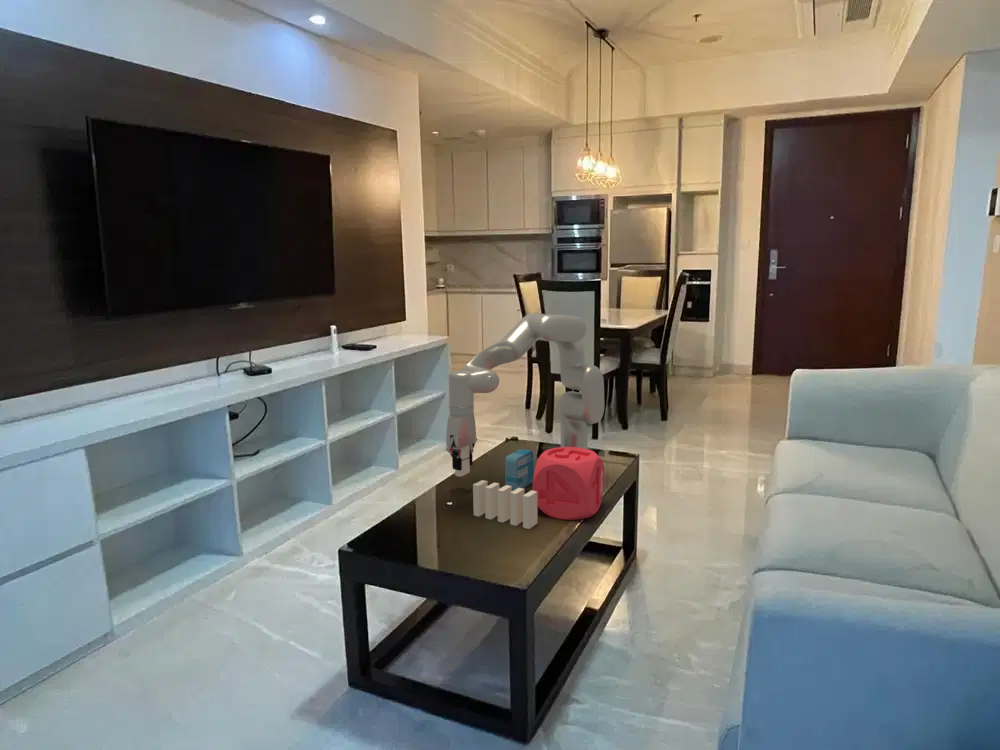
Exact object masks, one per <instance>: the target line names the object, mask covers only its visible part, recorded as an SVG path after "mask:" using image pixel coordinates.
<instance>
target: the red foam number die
mask: <svg viewBox="0 0 1000 750" xmlns="http://www.w3.org/2000/svg"><path fill="white" fill-rule="evenodd" d="M534 466H535V467H534V469H533V482H532V491H537V508H539V509H540V511H541V512H543V513H544V514H545V515H546V516H548V517H550V518H554V519H558V520H564V521H565V520H566V521H576V520H578V519H579V520H584V518H585V519H588V518H591V517H593V516H594V515H595V514H597V512H598V511H599V509H600V508H601V504H602V500H603V496H604V492H605V491H604V490H605V482H606V481H605V480H606V479H605V478H606V477H605V476H606V472H605V464H604V462H603V459H602V458H601V457H600V456H599V455H598V454H597V453H596V452H595V451H593V450H591V449H589V448H587V449H585V448H579V447H561V446H560V447H559V446H558V447H553V448H549V449H546V450H543V452H542V453H541V454H540V455H539V457H538V459H537V461H536V463H535V465H534Z"/></svg>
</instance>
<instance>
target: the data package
mask: <svg viewBox="0 0 1000 750" xmlns="http://www.w3.org/2000/svg"><path fill="white" fill-rule="evenodd" d="M504 462H505V463H504V468H505V469H504V470H505V473H504V474H505V475H504V477H505V484H504V486H506V485H508V486H512V491H514V490H516V489H517V488H523V489H525V488H526V487H528V486H529V485H531V484H533V475H534V452H533V450H529V449H523V448H521V449H518V450H516V451H514V452H512V453H510V454H509V455H506V457H505V460H504Z"/></svg>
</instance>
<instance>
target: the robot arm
mask: <svg viewBox="0 0 1000 750" xmlns="http://www.w3.org/2000/svg"><path fill="white" fill-rule="evenodd" d="M587 329H588V328H587V324H586V322H585V321H584V320H583V319H582V318H581V317H579V316H574V315H573V316H572V315H565V314H545V313H538V312H537V313H536V312H531V313H528V314H526V315H525V316H523V317H522V318H521V319H520V320H519V322H517V323H516V324H515V326H514V327H512V329H511V330H509V332H508V333H507V334H506V335H504V337H502V338H501V340H499V341H498V342H495V343H493V344H491V345H490V346H487V348H484V349H482V350H481V351H479V352H478V353H477V354H475V355H474V356H473V357H472V358H471V359H470V360H469V361H468V362H467V363H466V365H465V366H464V367H463V368H462V369H461V370H453V371H451V372H450V373H449V374H448V395H449V397H448V401H449V403H448V405H449V406H448V407H449V409H448V410H449V412H448V413H449V416H448V417H447V424H446V437H445V438H446V440H445V443H446V452H448V453H449V455H450V457H451V459H452V460H451V461H452V463H451V465H452V470H454V471H455V470H462V458H460V455H461V448H464V447H466V446H468V445H469V448H470V454H469V460H470V467H471V466H473V453H474V448H475V445H476V443H477V442H478V438H477V428H476V427H477V425H476V418H475V411H474V409H475V407H474V406H475V404H474V401H475V400H474V398H475V397H474V395H475V394H489V393H492V392H494V391H496V389H498V388H499V387H498V386H499V384H500V378H499V375H498V374H497V372H495V371H494V370H492V369H494V368H496V367H498V366H501V365H505V364H509V363H514V362H515V361H519V360H520V359H521V358H522V357H524V355H525V354H526V353H527V352H528V351H529V350H530V349H531V348H532V347H533V346H534V344H535V343H536V342H537V341H544V342H551V343H553V342H554V343H555V344H556V346H557V348H558V353H559V354H558V355H559V367H560V381H561V383H562V385H563V386H564V387H566V388H567V389H571V390H575V391H566V392H564V393H563V394H562V393H561V395H560V397H559V399H558V400H557V401H558V402H557V412H558V417H559V423H560V424H559V425H560V447H579V448H585V449H588V436H589V435H588V434H589V433H588V425H587V424H591V425H593V424H597V423H598V422H600V421H601V420H602V418H603V416H604V414H605V413H604V412H605V383H604V380H605V379H604V376H603V372H602V371H601V369H600V368H599V367H598V366H596V365H594V364H590V363H589V364H588V363H586V359H585V357H586V356H585V349H584V344H583V341H582V340H583V339H584V338H585V336H586V334H587ZM577 391H578V392H577ZM455 445H456V447H455ZM455 449H456V450H458V451H457V452H456V451H455Z"/></svg>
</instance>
